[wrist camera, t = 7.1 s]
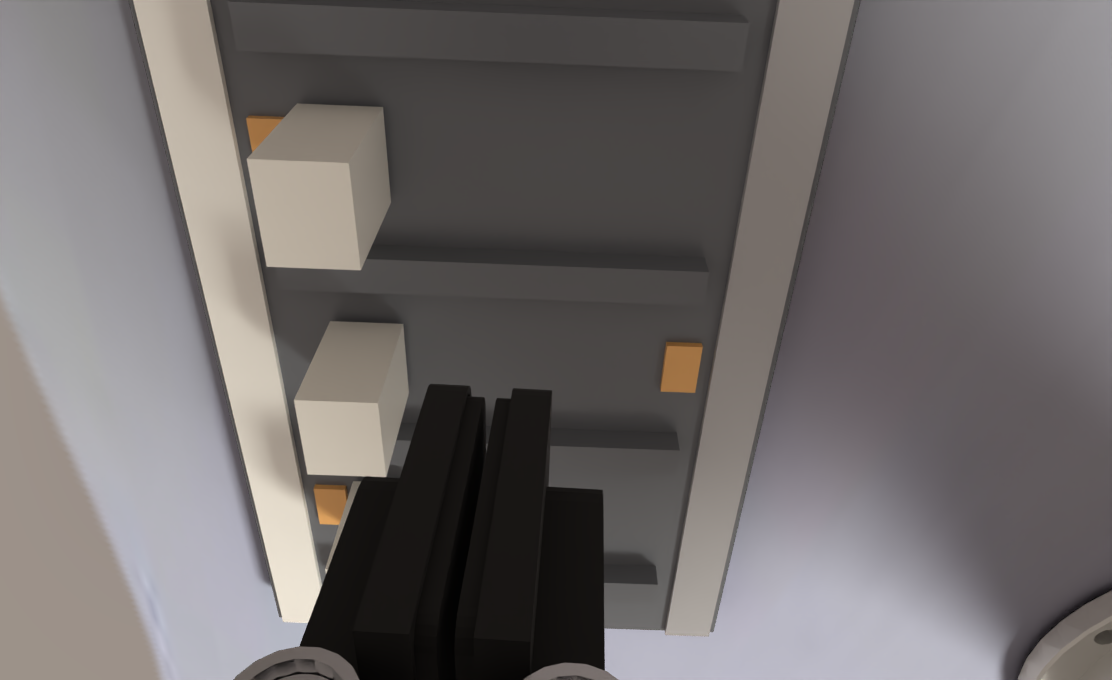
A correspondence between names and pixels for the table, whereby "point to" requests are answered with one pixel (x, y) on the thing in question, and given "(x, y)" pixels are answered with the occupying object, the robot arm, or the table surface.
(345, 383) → the tab
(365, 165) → the tab
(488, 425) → the switch board
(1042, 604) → the table surface
